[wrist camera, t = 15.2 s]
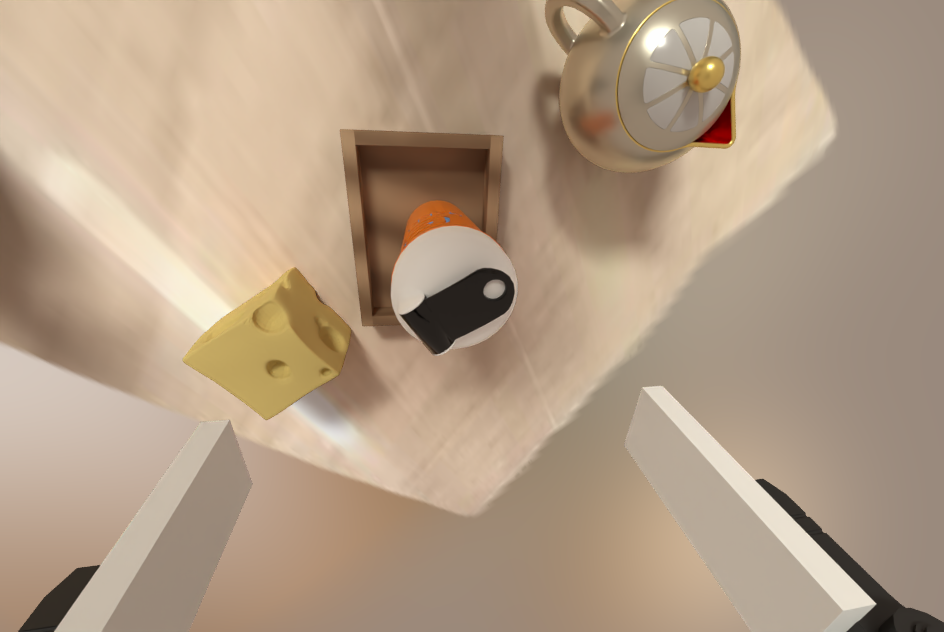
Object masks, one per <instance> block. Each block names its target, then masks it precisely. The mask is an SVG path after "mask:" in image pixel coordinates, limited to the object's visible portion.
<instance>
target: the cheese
mask: <svg viewBox="0 0 944 632" xmlns="http://www.w3.org/2000/svg"><path fill="white" fill-rule="evenodd" d="M350 336H351V328H350V327H349V326H348V325H347V324H346V323H345V322H344V321H343V320H342V319H341V318H340V317H339V316H338V315H337V314H336V313H335V312H334V311H333V310H332V309H331V308H330V307H329V306H327V305H325V304H322V303H321V302H320V301H319V300H318V299H317V297H316V292H315V290H314V289H313V288H312V286H311V285H310V284H309V283H308V282H307V281H306V279H305V278H304V277H303V275H302V274H301V273H300V272H299V271H298V270H297V269H296V268H292V269H290V270H288V271H287V272H286V273H284V274H283V275H282V276H281V277H280V278H279V279H278V280H277V281H276V282H275V283H273V284H272V285H271V286H269V287H268V288H266V289H265V290H263V291H262V292H260V293H259V294H257V295H256V296H254V297H253V298H251V299H250V300H249V301H247V302H246V303H244V304H242V305H241V306H239V307H238V308H236V309H235V310H233V311H232V312H230V313H229V314H227V315H226V316H224V317H223V318H221V319H220V320H219V321H218V322H217V323H215V324H214V325H213V326H212V327H211V328H210V329H209V330H208V331H206V332H205V333H204V334H203V335H202V336H201V337H200V338H199V339H198V340H197V341H196V343H195V344H194V345H193V346H192V347H191V349H190V350H189V351H188V353H187V354H186V355H185V357H184V358H183V362H184V363H185V364H187V365H188V366H190V367H192V368H193V369H195V370H196V371H198V372H199V373H201V374H203V375H204V376H206V377H208V378H209V379H211V380H213V381H214V382H216V383H217V384H219V385H220V386H221V387H223V388H224V389H226V390H227V391H228V392H230V393H231V394H233V395H234V396H235V397H237V398H238V399H240V400H241V401H242V402H244V403H245V404H246V405H248V406H249V407H250V408H251V409H253V410H254V411H255V412H257V413H258V414H259V415H260V416H261V417H262V418H264V419H265V420H268V419H270V418H272V417H273V416H275V415H277V414H278V413H280V412H282V411H283V410H284V409H286V408H287V407H289V406H290V405H292V404H293V403H294V402H296V401H297V400H299V399H300V398H302V397H303V396H305V395H306V394H308V393H309V392H311V391H312V390H314V389H316V388H318V387H319V386H321V385H323V384H325V383H326V382H328V381H330V380H332V379H334V378H335V377H337V376H338V375H339V374H340V372H341V369H342V367H343V363H344V360H345V356H346V352H347V349H348V346H349V342H350Z"/></svg>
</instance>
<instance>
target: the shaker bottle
mask: <svg viewBox="0 0 944 632" xmlns="http://www.w3.org/2000/svg"><path fill="white" fill-rule="evenodd" d="M517 294H518V282H517V277H516V272H515V269H514V267H513V265H512V262H511V260H510V259H509V258H508V256H507V255H506V253H505V252H504V250H503V249H502V248H501V246H500V245H499V244H498V243H497V242H496V241H495V240H494V239H493V238H492V237H491V236H489V235H487V234H486V233H484V232H482V231H481V230H480V229H479V228H478V227H477V226H476V225H475V224H474V223H473V222H472V221H471V220H470V219H469V218H468V217H467V216H466V215H465V214H464V213H463V212H462V211H461V210H460V209H459V208H458V207H457V206H455V205H453V204H451V203H449V202H446V201H440V200H436V201H430V202H426V203H424V204H422V205H420V206H419V207H418V208H416V209H415V210H414V211H413V213H412V214H411V215H410V217H409V219H408V222H407V226H406V230H405V234H404V239H403V243H402V248H401V252H400V255H399V257H398V259H397V261H396V263H395V265H394V269H393V272H392V278H391V301H392V307H393V310H394V312H395V315H396V317H397V319H398V321H399V322H400V323H401V325H402V326H403V328H404V329H405V330H406V331H407V332H408V333H409V334H410V335H411V336H413V337H414V338H416V339H417V340H419V341H420V342H422V343H423V344H424V345H425V346H426V348H427V349H428V350H429V351H430V352H431V354H433V355H435V356H439V355H442V354H445V353H446V352H448V351H449V350H450V349H459V348H466V347H470V346H473V345H476V344H479V343H481V342H483V341H485V340H487V339H488V338H490V337H491V336H492V335H494V334H495V333H496V332H497V331H498V330H499V329H500V328H501V327H502V326H503V325H504V324H505V323H506V321H507V320H508V318H509V317H510V315H511V313H512V311H513V309H514V306H515V303H516V299H517Z"/></svg>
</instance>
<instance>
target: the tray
mask: <svg viewBox="0 0 944 632" xmlns="http://www.w3.org/2000/svg"><path fill="white" fill-rule="evenodd" d="M340 135H341V144H342V153H343V161H344V170H345V179H346V188H347V196H348V205H349V214H350V223H351V231H352V240H353V249H354V257H355V266H356V275H357V284H358V292H359V301H360V310H361V319H362V326H383V325H401V323H400V322H399V321H398V319H397V317H396V315H395V312H394V310H393V307H392V301H391V278H392V272H393V269H394V265H395V263H396V261H397V259H398V257H399V255H400V252H401V248H402V243H403V239H404V234H405V230H406V226H407V222H408V219H409V217H410V215H411V214H412V213H413V211H414V210H415V209H416V208H418V207H419V206H420V205H422V204H424V203H426V202H430V201H436V200H440V201H446V202H449V203H451V204H453V205H455V206H457V207H458V208H459V209H460V210H461V211H462V212H463V213H464V214H465V215H466V216H467V217H468V218H469V219H470V220H471V221H472V222H473V223H474V224H475V225H476V226H477V227H478V228H479V229H480V230H481V231H482V232H484V233H486V234H487V235H489V236H491V237H492V238H493V239H494V240H495V241H496V240H497V225H498V210H499V195H500V180H501V165H502V150H503V136H499V135H474V134H449V133H423V132H397V131H372V130H346V129H340Z"/></svg>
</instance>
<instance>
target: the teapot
mask: <svg viewBox="0 0 944 632" xmlns="http://www.w3.org/2000/svg"><path fill="white" fill-rule="evenodd" d="M563 6H570V7H573V8H575V9H577V10H579V11H581V12H583V13H584V14H585V15H587V16H588V17H589V18H591V19H590V20H589V21H588V22H587V24H586V25H585V26H584V28H583V29H582V30H581V32H580V33H579V35H578V36H577V35H576V34H575V32H574V31H573V30H572V28H571V27H570V25H569V24H568V22H567V20H566V18H565V15H564V12H563ZM545 19H546V23H547V25H548V28H549V30H550V32H551V34H552V36H553V37H554V39H555V40H556V41H557V43H558V44H559V45H560V47H561V48H562V49H563V50H564V52H565V53H566V54H567V55H568V57H567V59H566V62H565V65H564V69H563V72H562V77H561V82H560V92H559V105H560V113H561V118H562V122H563V125H564V128H565V131H566V133H567V135H568V137H569V139H570V141H571V142H572V144H573V145H574V147H575V148H576V149H577V150H578V152H579V153H580V154H581V155H582V156H584V157H585V158H586V159H587V160H589V161H590V162H592V163H593V164H595V165H597V166H599V167H601V168H604V169H607V170H610V171H615V172H623V173H635V172H643V171H648V170H652V169H655V168H658V167H661V166H664V165H666V164H668V163H670V162H672V161H674V160H676V159H678V158H679V157H681V156H683V155H684V154H686V153H687V152H688V151H690V150H691V149H692V148H694V147H706V148H723V149H725V148H729V147H730V146H732V144H733V143H734V141H735V139H736V122H735V89H736V83H737V79H738V75H739V69H740V62H741V43H740V36H739V31H738V27H737V24H736V21H735V19H734V17H733V15H732V13H731V11H730V9H729V7H728V6H727V5H726V3H725V2H724V1H723V0H546V4H545Z"/></svg>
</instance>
